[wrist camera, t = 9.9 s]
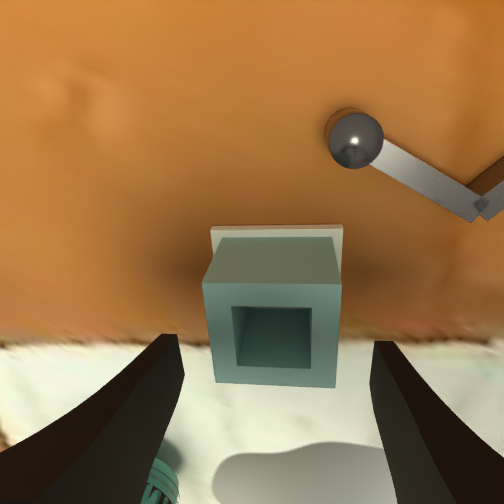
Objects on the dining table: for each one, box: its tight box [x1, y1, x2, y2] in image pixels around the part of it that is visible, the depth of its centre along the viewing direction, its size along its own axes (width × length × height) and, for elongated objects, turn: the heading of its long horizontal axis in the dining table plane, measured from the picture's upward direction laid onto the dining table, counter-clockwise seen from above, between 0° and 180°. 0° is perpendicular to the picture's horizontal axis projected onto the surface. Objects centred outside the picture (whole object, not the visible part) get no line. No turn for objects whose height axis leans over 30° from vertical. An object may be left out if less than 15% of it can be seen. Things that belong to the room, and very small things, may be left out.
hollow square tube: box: [202, 237, 342, 388], centre depth 15 cm, size 5×5×4 cm
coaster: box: [210, 224, 343, 310], centre depth 17 cm, size 6×6×1 cm
